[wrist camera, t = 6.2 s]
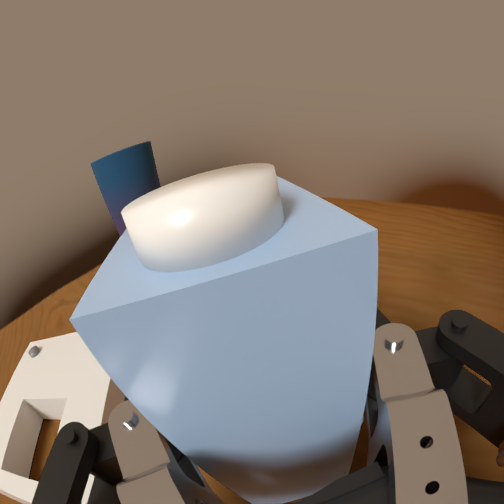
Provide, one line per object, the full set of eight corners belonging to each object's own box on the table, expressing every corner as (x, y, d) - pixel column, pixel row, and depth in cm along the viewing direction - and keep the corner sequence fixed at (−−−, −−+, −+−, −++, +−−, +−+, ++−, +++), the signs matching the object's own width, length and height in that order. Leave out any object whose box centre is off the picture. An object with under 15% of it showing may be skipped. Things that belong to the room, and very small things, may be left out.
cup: (151, 265, 35) (113, 156, 28) (197, 258, 33) (160, 138, 27) (128, 295, 29) (78, 168, 22) (179, 290, 27) (128, 145, 21)
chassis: (44, 360, 20) (28, 339, 18) (139, 342, 21) (123, 316, 19) (0, 493, 5) (-28, 473, 4) (122, 531, 6) (85, 518, 5)
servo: (216, 426, 13) (96, 198, 7) (331, 392, 13) (302, 138, 8) (232, 513, 8) (-15, 288, 2) (372, 470, 8) (442, 154, 3)
